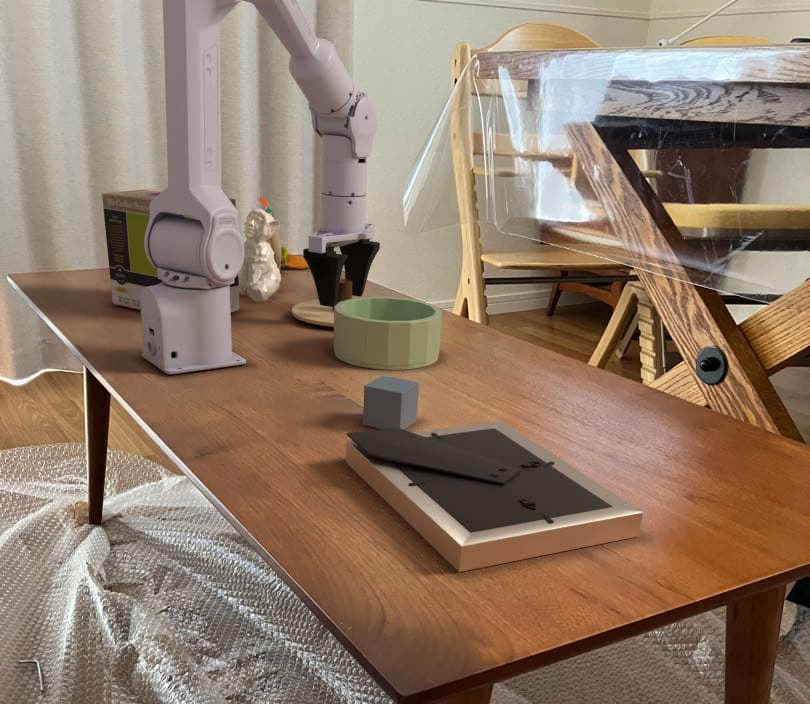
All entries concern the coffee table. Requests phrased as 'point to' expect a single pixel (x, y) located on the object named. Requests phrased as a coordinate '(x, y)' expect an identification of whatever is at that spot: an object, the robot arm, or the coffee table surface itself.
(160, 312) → the robot arm
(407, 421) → the block
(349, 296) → the lid
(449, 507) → the picture frame
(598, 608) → the coffee table surface
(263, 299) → the seated beast figurine
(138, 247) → the tea box
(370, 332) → the green faceted round bowl
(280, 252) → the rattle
